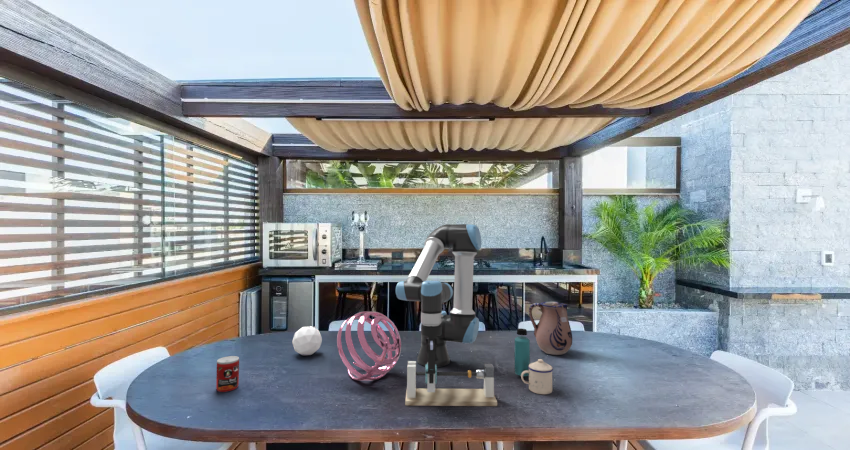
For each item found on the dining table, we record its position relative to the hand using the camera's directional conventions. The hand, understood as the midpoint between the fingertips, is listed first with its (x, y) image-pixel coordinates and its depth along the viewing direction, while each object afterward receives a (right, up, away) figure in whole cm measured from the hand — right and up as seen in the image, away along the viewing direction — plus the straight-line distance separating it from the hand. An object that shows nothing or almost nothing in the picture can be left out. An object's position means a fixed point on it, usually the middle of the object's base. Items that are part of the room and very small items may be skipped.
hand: (430, 385), depth 137 cm
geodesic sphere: (-60, -6, +50) cm, 79 cm away
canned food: (-78, -4, +8) cm, 79 cm away
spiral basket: (-25, -5, +20) cm, 33 cm away
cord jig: (+7, -5, 0) cm, 8 cm away
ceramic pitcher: (+62, -7, +56) cm, 83 cm away
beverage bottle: (+39, -6, +22) cm, 45 cm away
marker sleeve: (0, +2, 0) cm, 2 cm away
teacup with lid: (+41, -5, +9) cm, 42 cm away
